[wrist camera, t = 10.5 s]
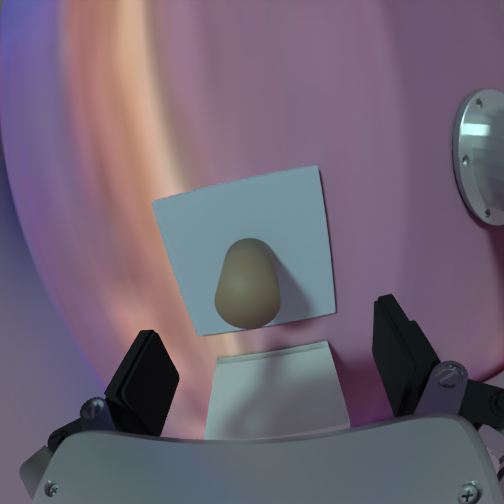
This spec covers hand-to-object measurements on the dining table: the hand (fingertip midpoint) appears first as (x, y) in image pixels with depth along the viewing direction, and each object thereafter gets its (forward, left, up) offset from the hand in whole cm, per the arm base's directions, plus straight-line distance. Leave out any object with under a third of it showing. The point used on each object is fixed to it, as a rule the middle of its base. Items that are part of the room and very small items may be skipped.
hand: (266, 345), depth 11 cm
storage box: (+1, +14, -10) cm, 17 cm away
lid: (+1, 0, -11) cm, 11 cm away
